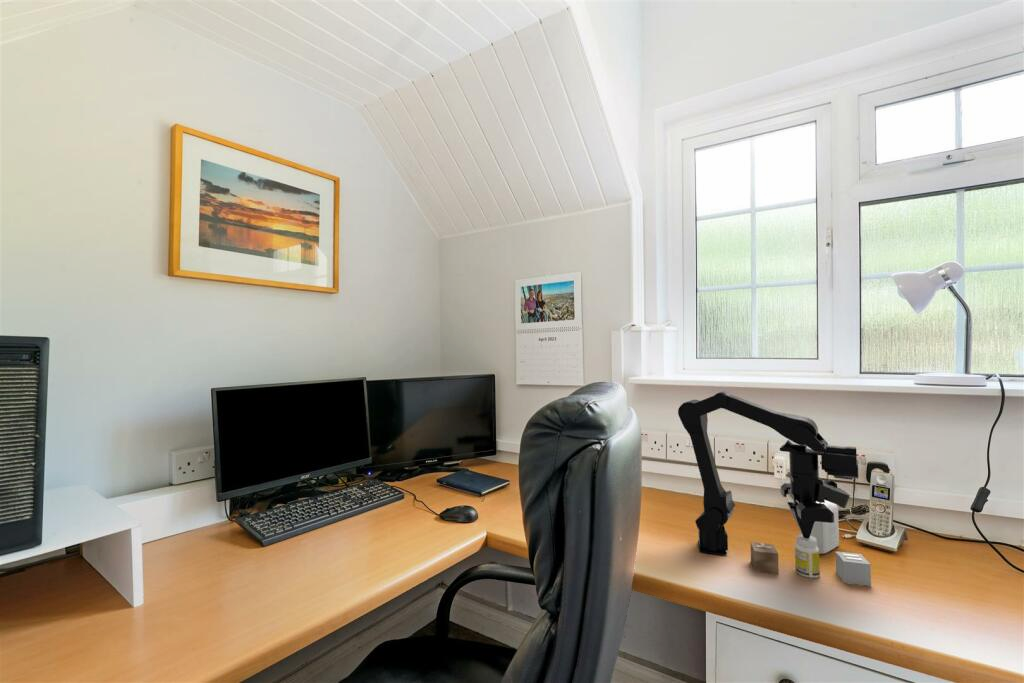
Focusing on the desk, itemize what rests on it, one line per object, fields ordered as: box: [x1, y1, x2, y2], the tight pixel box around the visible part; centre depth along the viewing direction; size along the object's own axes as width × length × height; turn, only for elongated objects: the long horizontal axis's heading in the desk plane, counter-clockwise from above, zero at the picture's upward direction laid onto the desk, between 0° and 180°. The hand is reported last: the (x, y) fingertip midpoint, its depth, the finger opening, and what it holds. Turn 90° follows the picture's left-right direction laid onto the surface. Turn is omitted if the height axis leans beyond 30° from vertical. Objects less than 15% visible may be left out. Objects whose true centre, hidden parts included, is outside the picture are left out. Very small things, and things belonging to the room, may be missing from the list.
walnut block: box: [749, 541, 780, 575], centre depth 108 cm, size 5×5×5 cm
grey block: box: [835, 551, 872, 587], centre depth 102 cm, size 5×5×5 cm
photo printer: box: [810, 500, 840, 555], centre depth 117 cm, size 10×4×12 cm, turn 123°
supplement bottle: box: [794, 533, 821, 579], centre depth 105 cm, size 5×5×8 cm
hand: (806, 537), depth 105 cm, fingers closed, pressing on supplement bottle
